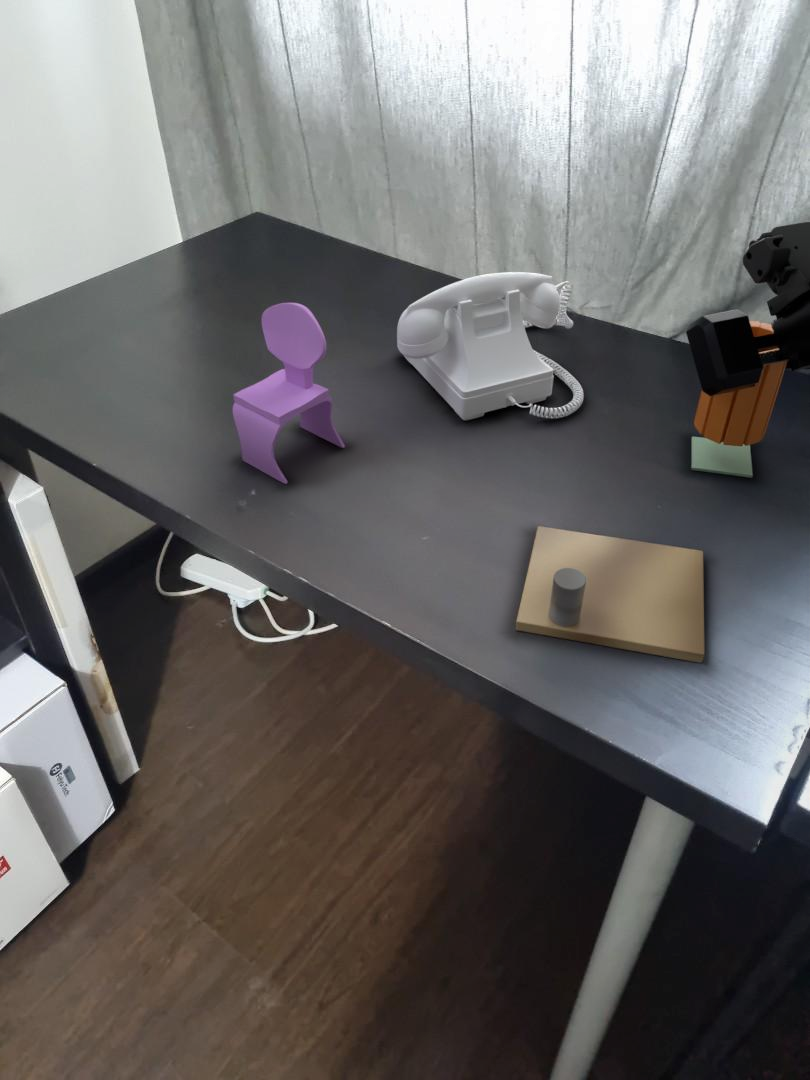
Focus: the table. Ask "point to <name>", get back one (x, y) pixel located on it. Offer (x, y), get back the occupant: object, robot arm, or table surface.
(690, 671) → the table surface
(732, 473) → the grey flat piece
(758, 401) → the pen holder
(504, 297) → the telephone
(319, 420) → the toy chair
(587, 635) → the ring board
